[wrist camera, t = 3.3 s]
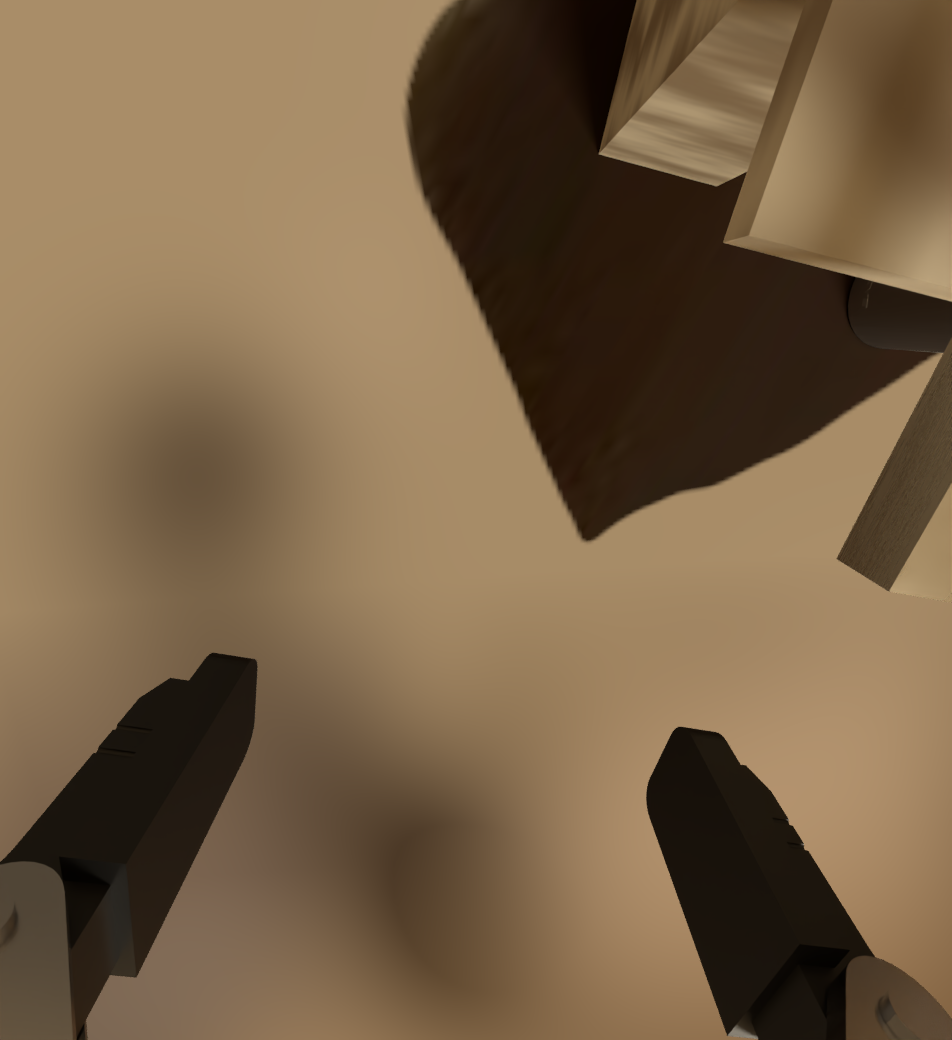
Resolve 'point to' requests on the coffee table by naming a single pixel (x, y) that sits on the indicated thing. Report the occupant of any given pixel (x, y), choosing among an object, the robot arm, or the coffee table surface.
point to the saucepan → (912, 503)
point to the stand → (803, 125)
